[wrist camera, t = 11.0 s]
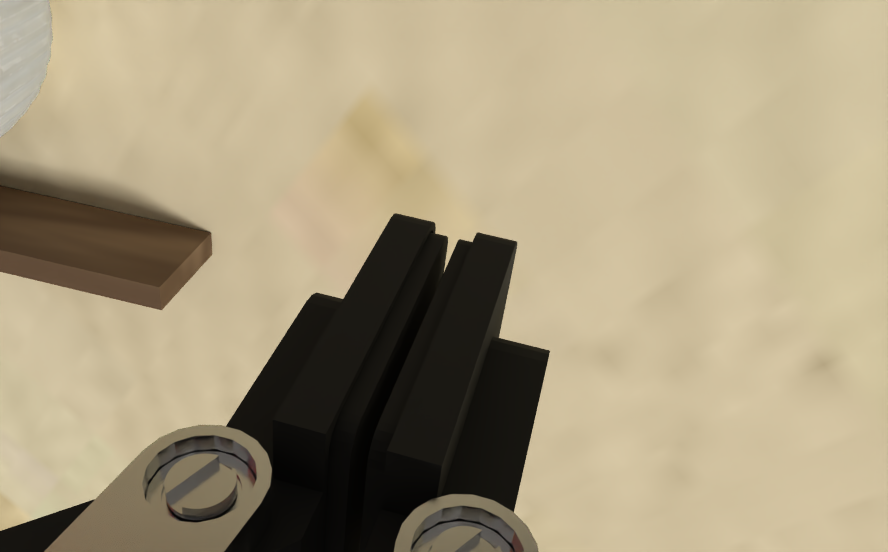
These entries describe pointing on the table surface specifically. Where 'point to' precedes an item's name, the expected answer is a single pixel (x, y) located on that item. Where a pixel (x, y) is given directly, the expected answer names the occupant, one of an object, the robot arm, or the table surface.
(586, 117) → the table surface
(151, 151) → the table surface
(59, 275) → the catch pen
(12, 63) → the ramekin
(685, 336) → the table surface
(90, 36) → the table surface
